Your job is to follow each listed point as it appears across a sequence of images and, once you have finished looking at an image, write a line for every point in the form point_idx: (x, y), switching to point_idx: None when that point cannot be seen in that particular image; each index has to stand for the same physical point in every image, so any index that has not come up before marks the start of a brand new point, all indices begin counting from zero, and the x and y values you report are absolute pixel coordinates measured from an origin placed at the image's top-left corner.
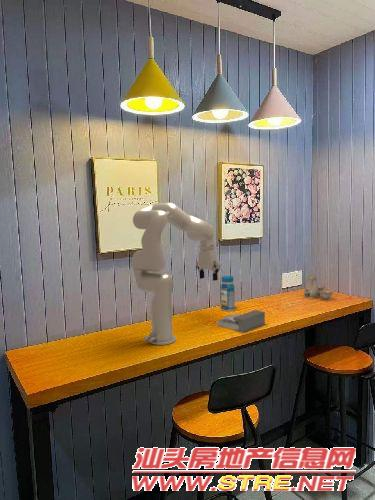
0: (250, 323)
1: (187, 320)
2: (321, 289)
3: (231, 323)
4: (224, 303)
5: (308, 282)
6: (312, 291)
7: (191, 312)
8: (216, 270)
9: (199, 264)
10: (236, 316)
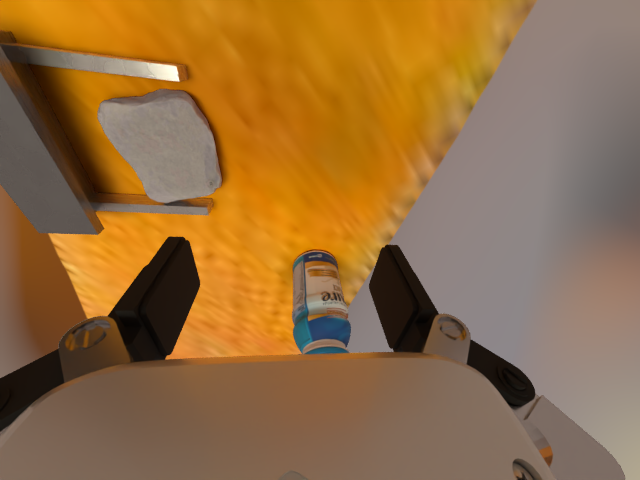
0: None
1: (368, 45)
2: None
3: (72, 63)
4: (315, 267)
5: None
6: None
7: (412, 173)
8: (13, 387)
9: (507, 475)
10: (157, 173)
